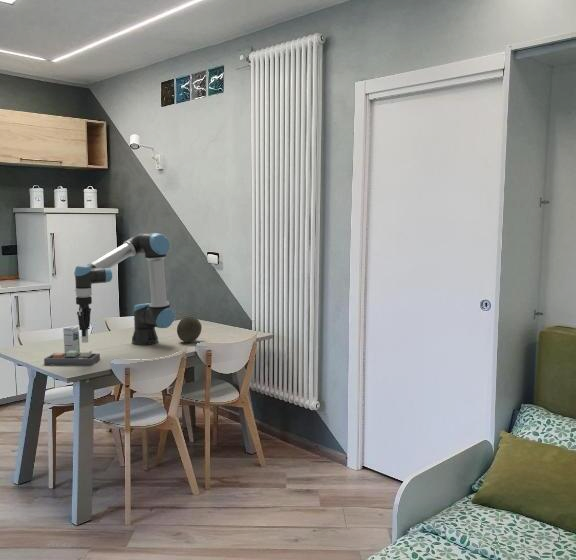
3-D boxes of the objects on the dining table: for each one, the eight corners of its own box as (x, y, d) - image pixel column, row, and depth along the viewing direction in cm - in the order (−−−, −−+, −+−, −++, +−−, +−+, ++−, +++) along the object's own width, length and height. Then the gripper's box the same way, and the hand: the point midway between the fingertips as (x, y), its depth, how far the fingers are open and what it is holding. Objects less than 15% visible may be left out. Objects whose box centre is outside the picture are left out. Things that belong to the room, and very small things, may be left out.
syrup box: (73, 354, 318) (72, 328, 316) (64, 354, 319) (63, 327, 318) (79, 352, 323) (79, 326, 322) (70, 351, 325) (69, 325, 323)
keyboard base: (100, 359, 308) (99, 352, 307) (91, 365, 296) (91, 358, 295) (54, 359, 308) (54, 352, 308) (44, 364, 297) (44, 357, 296)
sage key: (78, 354, 304) (78, 350, 304) (75, 356, 299) (74, 352, 299) (69, 354, 304) (69, 350, 304) (66, 356, 300) (66, 352, 299)
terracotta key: (65, 356, 304) (64, 352, 304) (61, 358, 300) (61, 355, 300) (56, 356, 304) (56, 352, 304) (52, 358, 300) (52, 354, 300)
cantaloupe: (196, 345, 342) (196, 319, 340) (173, 344, 345) (173, 318, 343) (204, 340, 355) (204, 315, 354) (182, 339, 358) (182, 314, 357)
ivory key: (91, 354, 304) (91, 350, 303) (88, 356, 299) (88, 352, 299) (83, 354, 304) (83, 350, 303) (80, 356, 299) (79, 352, 299)
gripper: (81, 294, 305) (82, 339, 307) (71, 297, 292) (72, 344, 294) (95, 294, 304) (96, 339, 307) (86, 298, 291) (87, 345, 294)
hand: (85, 342), depth 300 cm, fingers closed
